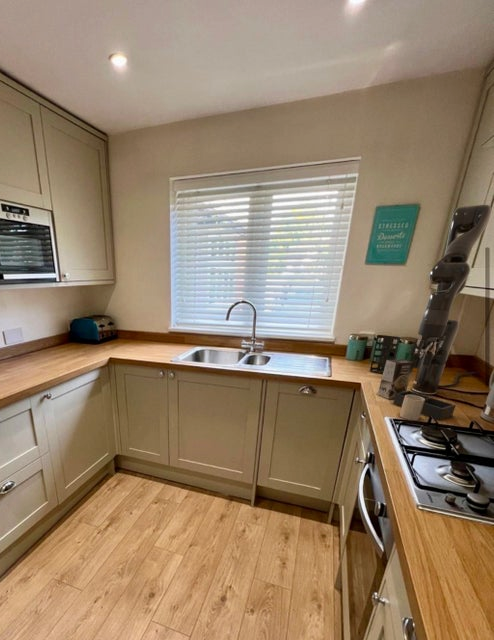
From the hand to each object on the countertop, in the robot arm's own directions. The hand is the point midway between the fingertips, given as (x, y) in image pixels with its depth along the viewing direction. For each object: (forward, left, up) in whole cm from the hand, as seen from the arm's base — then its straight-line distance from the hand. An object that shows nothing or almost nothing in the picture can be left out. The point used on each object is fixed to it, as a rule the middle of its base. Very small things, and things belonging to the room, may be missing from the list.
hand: (420, 366), depth 124 cm
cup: (+5, +4, -19) cm, 20 cm away
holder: (-43, -39, -19) cm, 62 cm away
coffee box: (-11, -13, -19) cm, 26 cm away
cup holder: (-7, +2, -19) cm, 20 cm away
